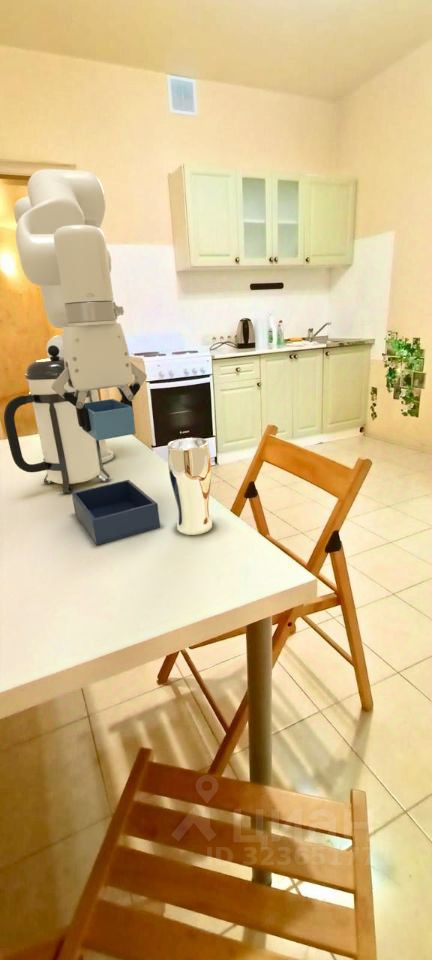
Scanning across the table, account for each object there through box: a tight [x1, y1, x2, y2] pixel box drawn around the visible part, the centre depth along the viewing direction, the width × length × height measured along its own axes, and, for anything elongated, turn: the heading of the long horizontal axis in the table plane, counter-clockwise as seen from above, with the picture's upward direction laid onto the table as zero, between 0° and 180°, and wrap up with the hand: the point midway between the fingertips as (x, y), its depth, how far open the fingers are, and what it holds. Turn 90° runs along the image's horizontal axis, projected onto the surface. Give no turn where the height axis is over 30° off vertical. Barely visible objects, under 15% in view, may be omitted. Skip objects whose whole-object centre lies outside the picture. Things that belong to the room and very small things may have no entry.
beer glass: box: [167, 437, 213, 536], centre depth 74 cm, size 7×7×15 cm
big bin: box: [71, 479, 161, 546], centre depth 81 cm, size 15×11×4 cm
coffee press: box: [3, 345, 111, 494], centre depth 96 cm, size 17×16×30 cm
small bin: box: [82, 398, 137, 441], centre depth 77 cm, size 10×6×4 cm, turn 30°
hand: (107, 425), depth 77 cm, fingers closed on small bin, 6 cm apart
